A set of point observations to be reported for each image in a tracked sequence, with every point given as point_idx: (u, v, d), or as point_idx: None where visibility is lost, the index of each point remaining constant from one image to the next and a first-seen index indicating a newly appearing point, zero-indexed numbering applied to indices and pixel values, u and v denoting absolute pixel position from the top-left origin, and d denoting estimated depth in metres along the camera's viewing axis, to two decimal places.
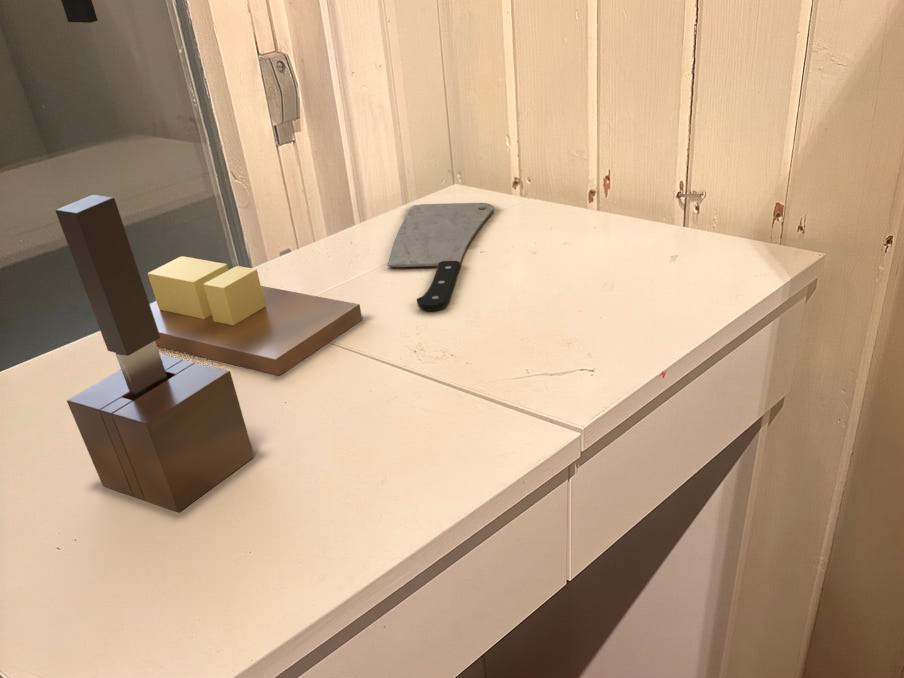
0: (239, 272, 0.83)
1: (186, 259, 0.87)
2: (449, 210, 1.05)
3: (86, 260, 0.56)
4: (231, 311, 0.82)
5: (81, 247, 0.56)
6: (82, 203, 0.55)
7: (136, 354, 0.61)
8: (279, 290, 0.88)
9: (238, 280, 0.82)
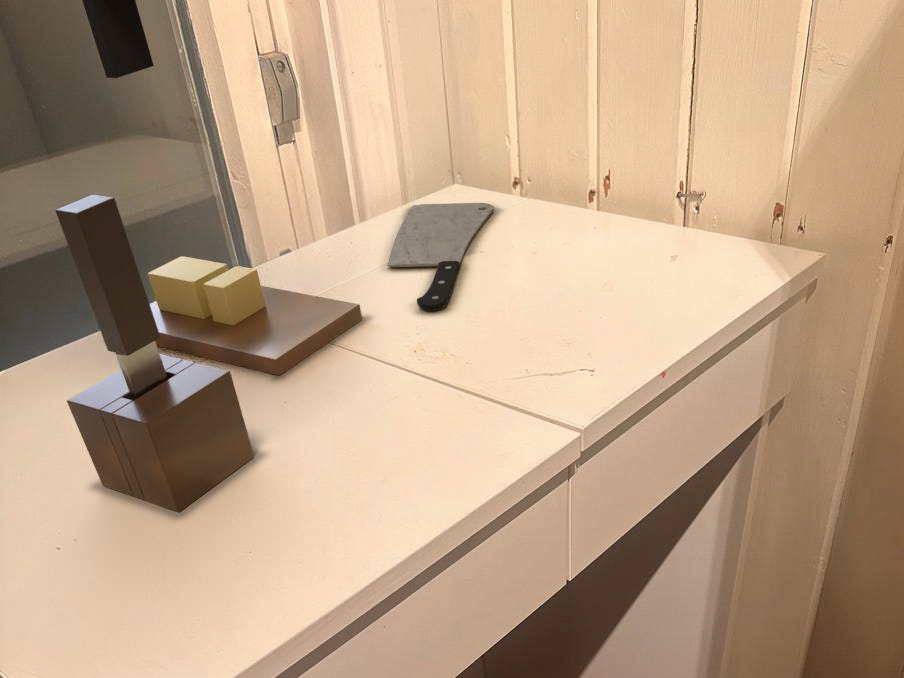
0: (239, 272, 0.83)
1: (186, 259, 0.87)
2: (449, 210, 1.05)
3: (86, 260, 0.56)
4: (231, 311, 0.82)
5: (81, 247, 0.56)
6: (82, 203, 0.55)
7: (136, 354, 0.61)
8: (279, 290, 0.88)
9: (238, 280, 0.82)
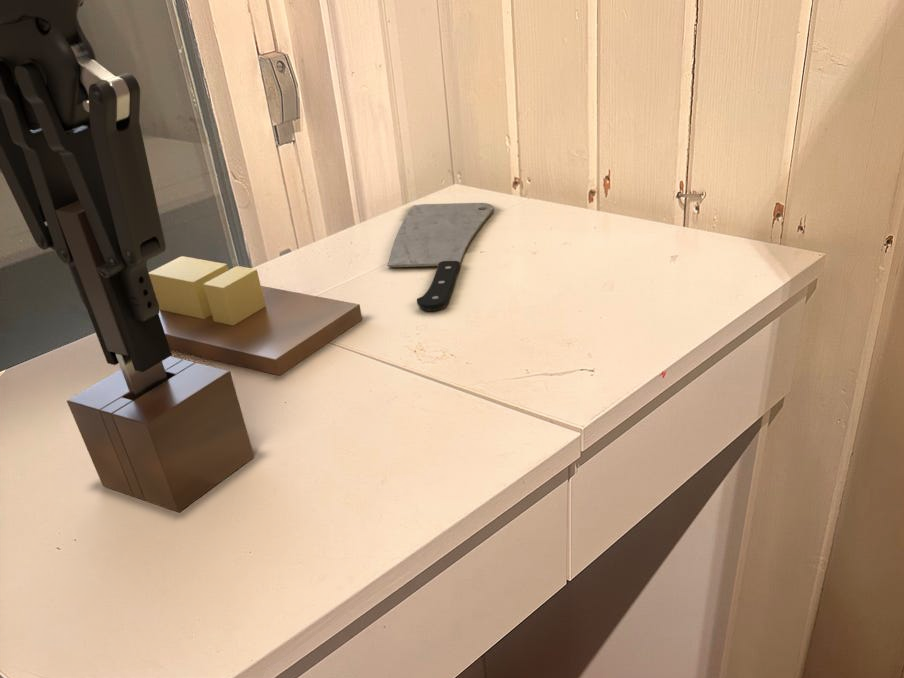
0: (239, 272, 0.83)
1: (186, 259, 0.87)
2: (449, 210, 1.05)
3: (86, 260, 0.56)
4: (231, 311, 0.82)
5: (81, 247, 0.56)
6: None
7: None
8: (279, 290, 0.88)
9: (238, 280, 0.82)
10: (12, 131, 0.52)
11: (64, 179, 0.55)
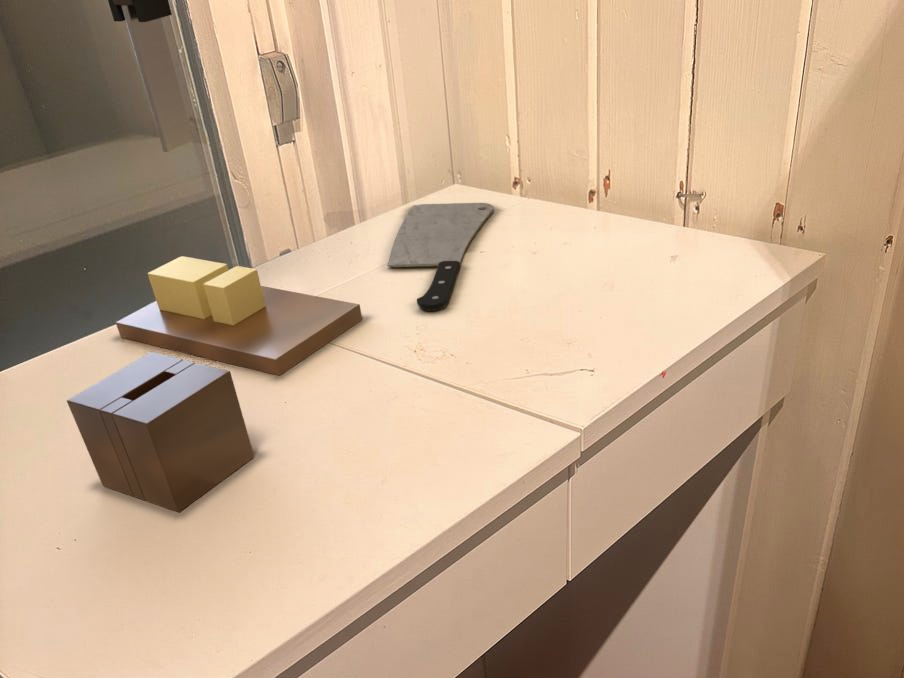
0: (239, 272, 0.83)
1: (186, 259, 0.87)
2: (449, 210, 1.05)
3: None
4: (231, 311, 0.82)
5: None
6: None
7: None
8: (279, 290, 0.88)
9: (238, 280, 0.82)
10: None
11: None
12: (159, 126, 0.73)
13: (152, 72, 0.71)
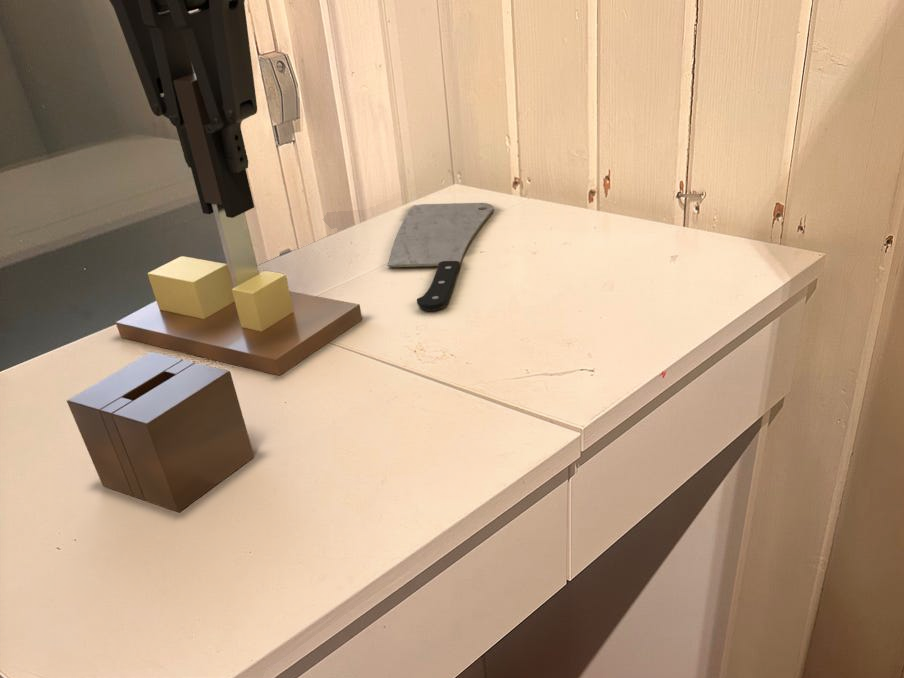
0: (268, 277, 0.82)
1: (186, 259, 0.87)
2: (449, 210, 1.05)
3: (195, 122, 0.72)
4: (259, 316, 0.81)
5: (192, 111, 0.71)
6: (193, 76, 0.71)
7: None
8: None
9: (267, 285, 0.81)
10: (144, 13, 0.68)
11: (179, 55, 0.71)
12: None
13: (235, 255, 0.80)
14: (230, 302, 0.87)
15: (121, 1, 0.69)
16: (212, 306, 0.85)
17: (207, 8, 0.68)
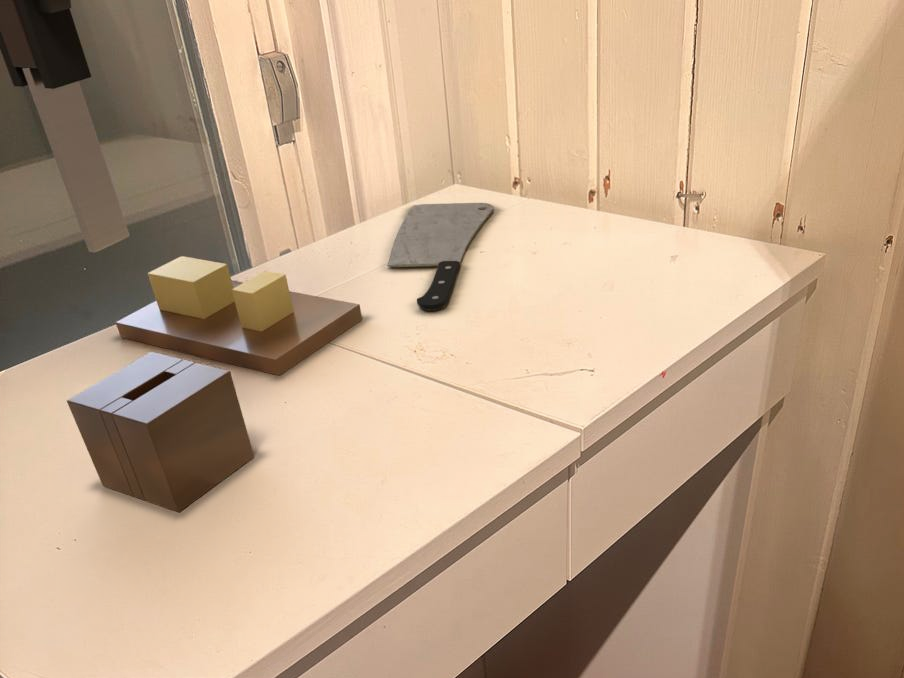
0: (268, 277, 0.82)
1: (186, 259, 0.87)
2: (449, 210, 1.05)
3: None
4: (259, 316, 0.81)
5: None
6: None
7: None
8: None
9: (267, 285, 0.81)
10: None
11: None
12: (81, 221, 0.56)
13: (69, 153, 0.54)
14: (230, 302, 0.87)
15: None
16: (212, 306, 0.85)
17: None
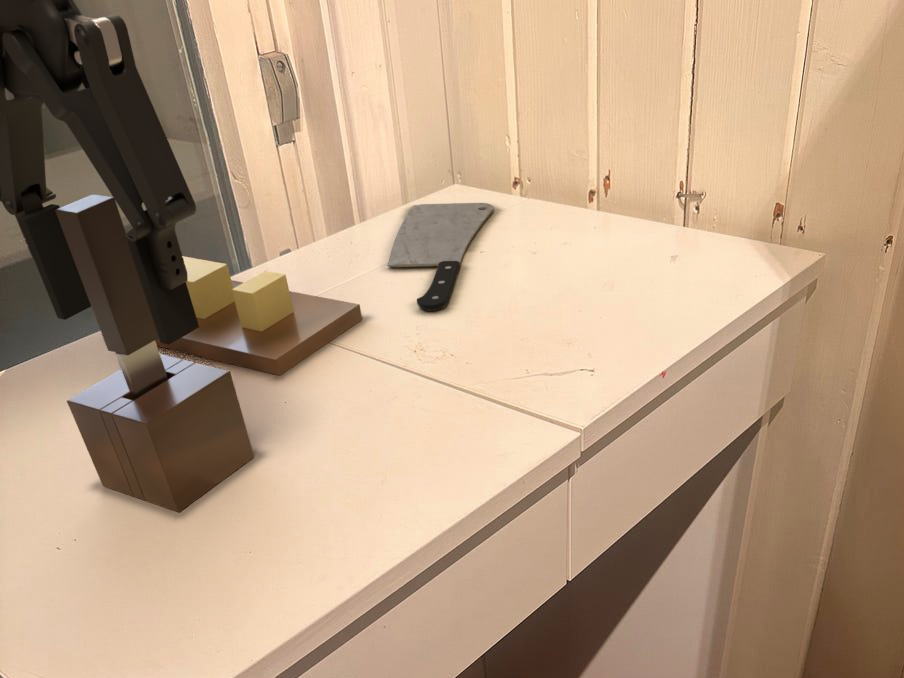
0: (268, 277, 0.82)
1: (186, 259, 0.87)
2: (449, 210, 1.05)
3: (86, 260, 0.56)
4: (259, 316, 0.81)
5: (81, 247, 0.56)
6: (82, 203, 0.55)
7: (136, 354, 0.61)
8: None
9: (267, 285, 0.81)
10: None
11: (28, 141, 0.55)
12: None
13: None
14: (230, 302, 0.87)
15: None
16: (212, 306, 0.85)
17: None
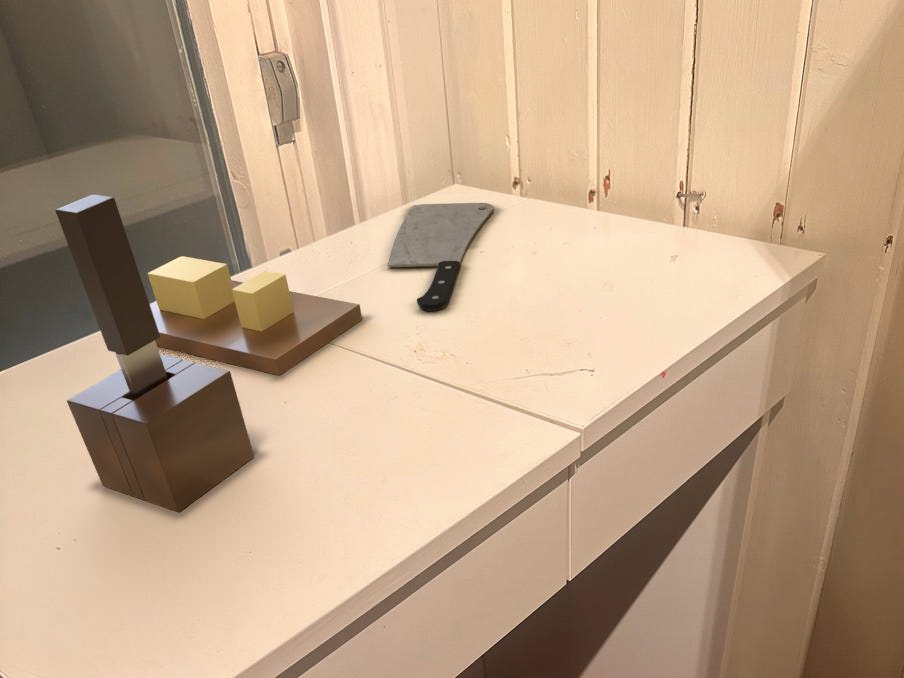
0: (268, 277, 0.82)
1: (186, 259, 0.87)
2: (449, 210, 1.05)
3: (86, 260, 0.56)
4: (259, 316, 0.81)
5: (81, 247, 0.56)
6: (82, 203, 0.55)
7: (136, 354, 0.61)
8: None
9: (267, 285, 0.81)
10: None
11: None
12: None
13: None
14: (230, 302, 0.87)
15: None
16: (212, 306, 0.85)
17: None
